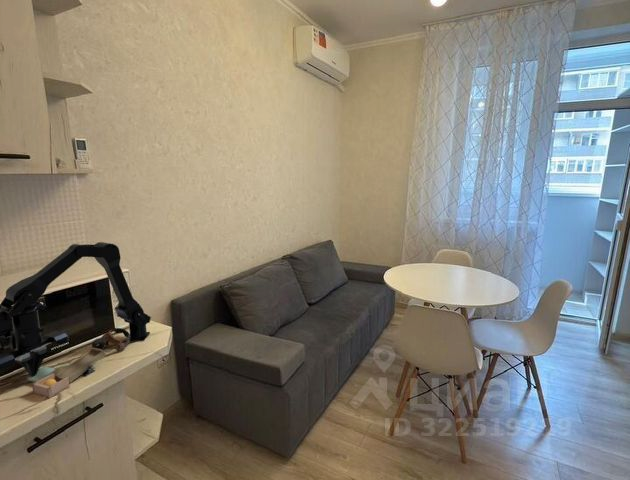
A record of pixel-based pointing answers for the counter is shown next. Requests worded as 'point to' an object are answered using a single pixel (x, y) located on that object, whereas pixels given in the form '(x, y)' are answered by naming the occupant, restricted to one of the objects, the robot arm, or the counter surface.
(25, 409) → the counter surface
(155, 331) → the counter surface
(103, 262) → the robot arm
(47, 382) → the ball
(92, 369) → the fulcrum
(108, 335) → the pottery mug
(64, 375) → the lever
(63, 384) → the dish
